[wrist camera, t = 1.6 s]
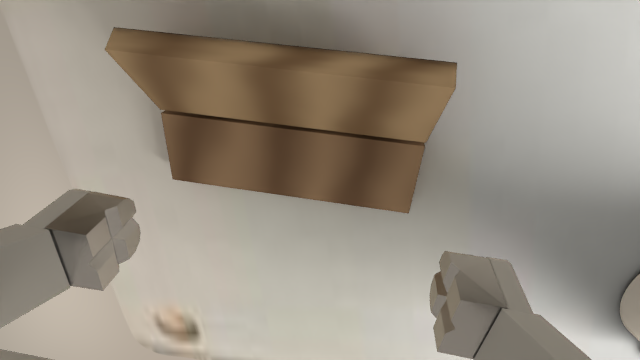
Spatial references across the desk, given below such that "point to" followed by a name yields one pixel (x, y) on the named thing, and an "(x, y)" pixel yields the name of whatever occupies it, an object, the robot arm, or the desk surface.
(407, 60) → the plank
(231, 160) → the laid board
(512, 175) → the desk surface
